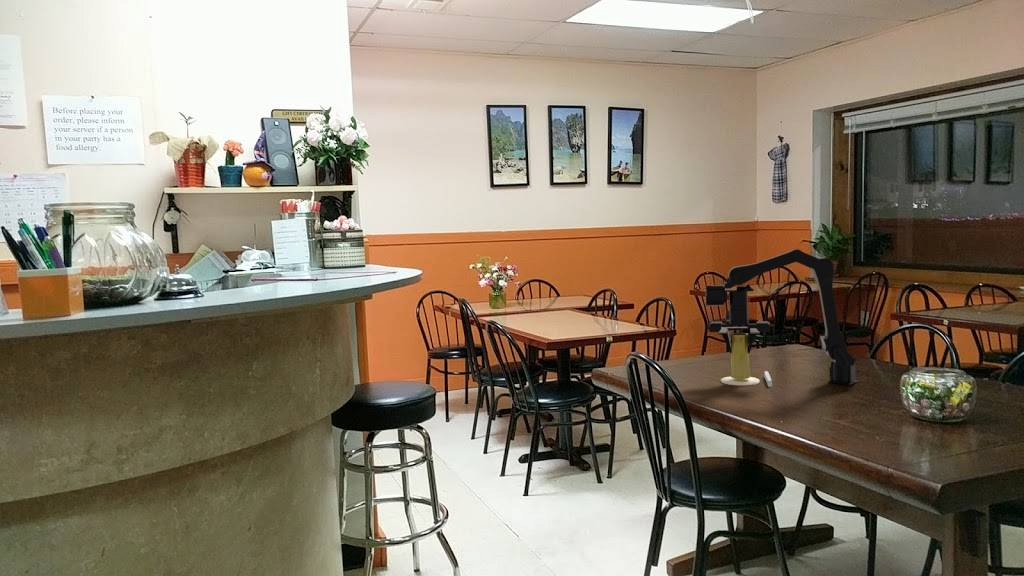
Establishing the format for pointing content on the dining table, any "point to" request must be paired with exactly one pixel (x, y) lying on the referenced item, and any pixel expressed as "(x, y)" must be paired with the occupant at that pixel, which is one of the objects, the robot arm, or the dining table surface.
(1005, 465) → the dining table surface
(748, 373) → the vase
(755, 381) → the mat
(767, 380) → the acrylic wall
